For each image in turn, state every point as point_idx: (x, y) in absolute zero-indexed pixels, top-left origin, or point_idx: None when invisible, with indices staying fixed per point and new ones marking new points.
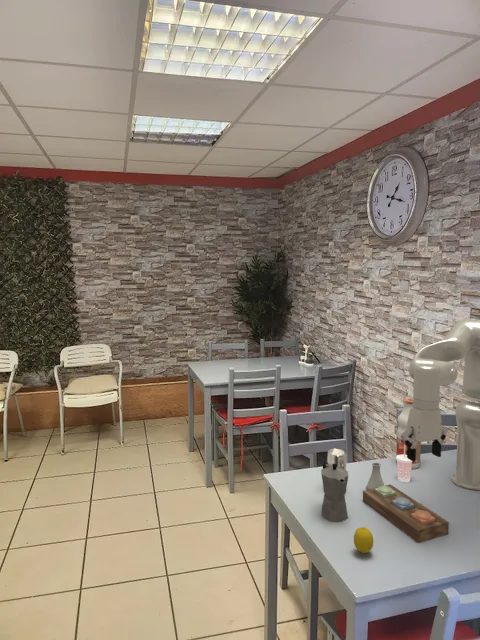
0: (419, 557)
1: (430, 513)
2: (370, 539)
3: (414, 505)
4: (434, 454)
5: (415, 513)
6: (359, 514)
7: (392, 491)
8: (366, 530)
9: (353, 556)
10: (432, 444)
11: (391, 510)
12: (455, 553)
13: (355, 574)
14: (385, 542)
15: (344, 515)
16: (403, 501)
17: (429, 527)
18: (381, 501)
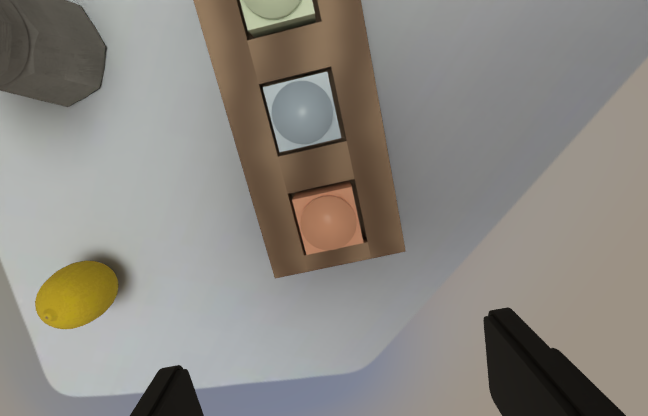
0: (253, 314)
1: (376, 190)
2: (85, 324)
3: (349, 123)
4: (488, 349)
5: (302, 215)
6: (153, 66)
7: (302, 2)
8: (60, 322)
9: None
10: (549, 402)
11: (239, 142)
12: (357, 315)
13: (66, 342)
14: (187, 240)
15: (75, 93)
16: (300, 119)
17: (321, 268)
18: (227, 64)
